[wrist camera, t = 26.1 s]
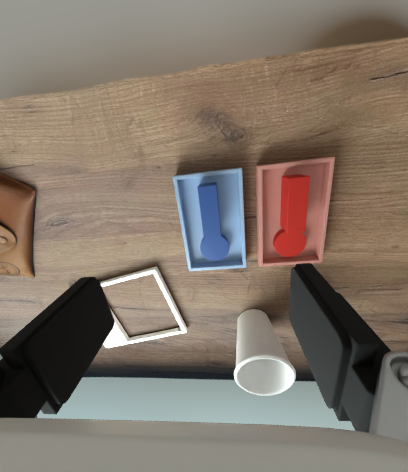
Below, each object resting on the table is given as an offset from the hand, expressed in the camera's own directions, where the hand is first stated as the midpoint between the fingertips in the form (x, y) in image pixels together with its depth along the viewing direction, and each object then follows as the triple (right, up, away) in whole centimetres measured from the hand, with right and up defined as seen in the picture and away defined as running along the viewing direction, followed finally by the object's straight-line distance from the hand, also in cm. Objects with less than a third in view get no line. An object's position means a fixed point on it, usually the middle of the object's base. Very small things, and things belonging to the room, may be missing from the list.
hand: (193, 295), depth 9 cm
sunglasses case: (-31, +4, +23) cm, 39 cm away
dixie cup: (+10, -13, +27) cm, 31 cm away
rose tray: (+13, +6, +19) cm, 23 cm away
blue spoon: (+2, +5, +20) cm, 20 cm away
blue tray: (+2, +5, +20) cm, 20 cm away
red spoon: (+13, +5, +18) cm, 23 cm away
